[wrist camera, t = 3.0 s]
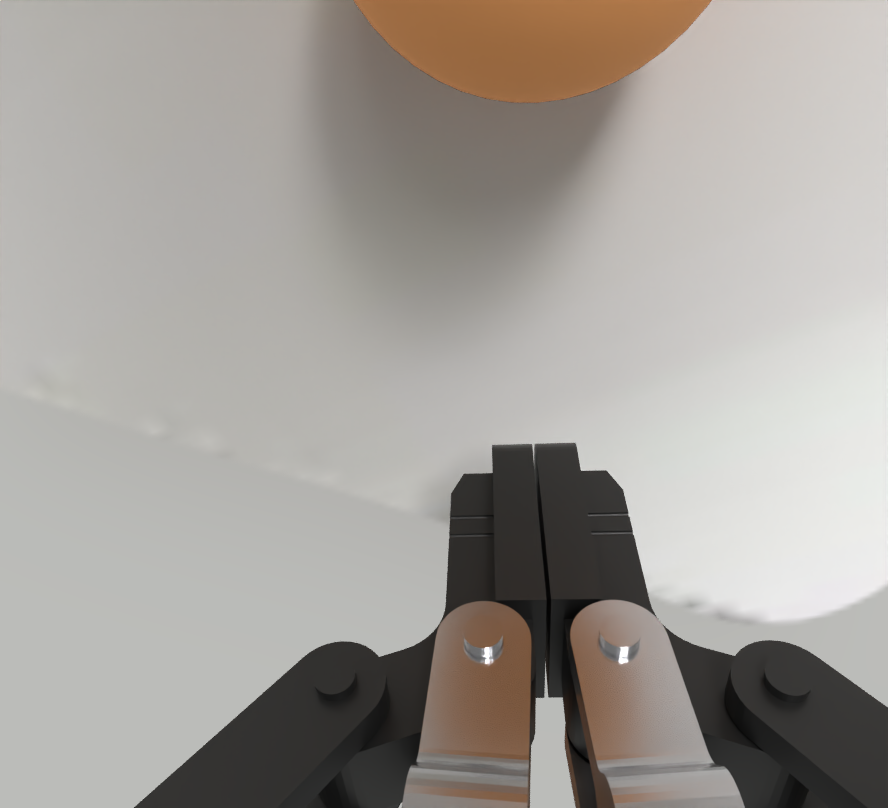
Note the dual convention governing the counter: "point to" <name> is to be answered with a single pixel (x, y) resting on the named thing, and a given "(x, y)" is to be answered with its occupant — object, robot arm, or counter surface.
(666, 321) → the counter surface
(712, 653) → the robot arm
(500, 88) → the ball
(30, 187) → the counter surface
